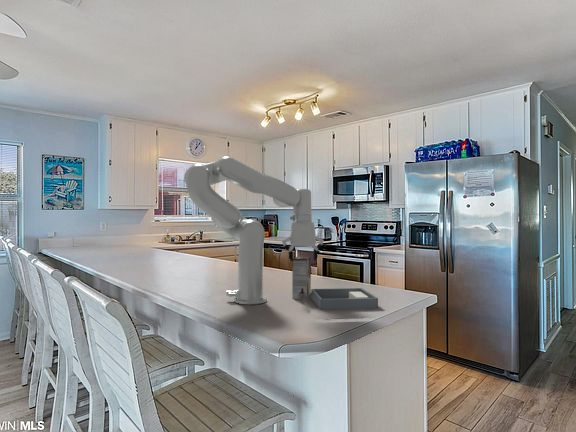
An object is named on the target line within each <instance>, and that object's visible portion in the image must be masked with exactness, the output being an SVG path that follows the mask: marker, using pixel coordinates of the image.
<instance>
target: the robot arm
mask: <svg viewBox="0 0 576 432" xmlns="http://www.w3.org/2000/svg"><path fill="white" fill-rule="evenodd" d="M183 179H184V183H185V185H186V188H187V193H188V196H189V198H190V199H191V202H192V203H193V204H194V205H195V206H196V207H197V208H198V209H200V210H201V211H202V212H203V213H205V214H206V215H207V216H209V217H210V218H211V220H212V222H213V223H214V224H215V226H217V227H218V228H219V229H221V230H222V231H223V232H225V233H226V234H228V235H229V236H230V237H232V238H234V239H235V240H236V241H238V243H239V245H238V251H237V257H238V265H237V267H238V268H237V269H238V270H237V271H238V272H237V276H238V277H237V278H238V279H237V280H238V281H237V285H238V286H237V289H235V290H226V297H233V300H234V301H233V302H234V303H236V304H238V303H239V304H240V305H260V304H264V303H266V302H267V300H268V299H267V296H265V295H263V294H264V288H263V287H264V244H265V236H266V234H265V228H264V226H263V224H262V223H261V222H259V221H258V220H255V219H249V218H246V217H245V216H243V214H241V211H240V209H239V208H238V207H237V206H235V205H234V204H233V203H231V202H230V201H229V200H227V199H225V198H224V197H222V196H221V195H220V194H219V193H218V192H216V191H215V190H214V189H213V187H212V185H216V184H219V183H222V182H225V181H228V182H230V183H232V184H234V185H236V186H238V187H240V188H242V189H243V190H246V191H247V192H250V193H253V194H259V195H264V196H267V197H270V198H272V201H273V203H274V204H275V206H277V207H279V208H292V212H293V213H292V216H289V220H290V221H293V222H291V226H290V236H288V237H286V238H285V239H282V241H281V243H282V245H283V247H284V248H285V249H286V250H287V251H288V259H289V260H290V262H292V259H294V252H293V250H294V248H309V247H310V248H311V247H312V249H313V251H312V260H313V261H315V262H317V259H318V251H319V249H320V248H321V247H322V245H323V243H324V242H325V241H324V239H323V238H320V237H318V236H316V227H315V223H314V222H313V221H312V220H313V219H312V217H313V216H312V191H311V189H308V188H298V189H297V188H295V187H294V186H293V185H290V184H288V182H287V183H286V182H284V181H283V180H281V179H278V178H276V177H274V176H270V175H267V174H265V173H263V172H260V171H258V170H257V169H254V168H252V167H250V166H249V165H246V164H244V163H243V162H241V161H239V160H237V159H235V158H234V157H231V156H223V157H220V159H218V160H216V161H212V162H209V163H206V164H201V163H195V164H193V165H190V167H189V168H188V169H187V170H186V171H185V173H184V176H183ZM317 241H318V242H319V243H318V244H317ZM287 242H290V246H289V245H288V244H287ZM239 304H238V305H239Z"/></svg>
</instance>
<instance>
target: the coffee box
mask: <svg viewBox="0 0 576 432" xmlns="http://www.w3.org/2000/svg"><path fill="white" fill-rule="evenodd" d="M311 257H312V256H296V257H293V259H292V261H291V262H292V267H291V268H292V271H291V272H292V279H291V281H292V282H291V283H292V286H291V287H292V291H291V292H292V293H291V294H292V295H291V296H292V299H293V300H303V298H308V297H309V296H310V295H311V289H312V287H311V285H312V282H311V281H312V280H311V277H312V275H311V270H312V268H311V267H312V266H311V265H312V264H311V262H312V261H311V259H312V258H311Z"/></svg>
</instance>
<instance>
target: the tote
mask: <svg viewBox="0 0 576 432" xmlns="http://www.w3.org/2000/svg"><path fill="white" fill-rule="evenodd" d="M349 292H362V293H363V294H365V295H366V296H368V297H369V298H349ZM310 296H311V297H310V298H311V300H312V301H313V302H314V304H315V305H316V306H317V308H318V309H319V310H322V311H323V310H324V311H327V310H328V311H329V310H330V311H333V310H339V311H340V310H366V309H367V310H368V309H369V310H371V309H372V310H373V309H374V310H375V309H379V298H378V297H377V296H375V294H372V293H370V292H369V291H367V290H366V289H364V288H362V287H352V288H351V287H350V288H349V287H348V288H347V287H345V288H344V287H343V288H342V287H341V288H340V287H339V288H335V287H334V288H311V293H310Z"/></svg>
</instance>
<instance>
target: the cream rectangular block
mask: <svg viewBox="0 0 576 432" xmlns="http://www.w3.org/2000/svg"><path fill="white" fill-rule="evenodd" d="M349 298H369V297H368V296H366V295H365V294H363V293H362V292H349Z"/></svg>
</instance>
